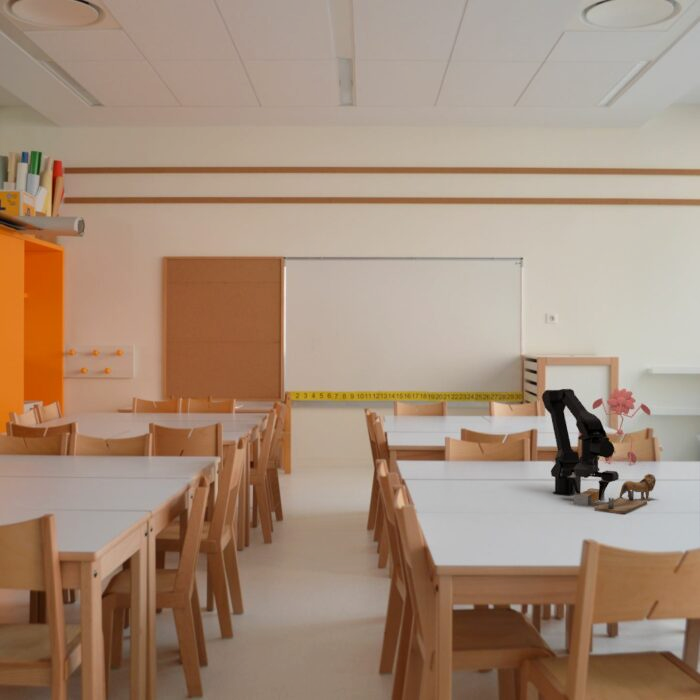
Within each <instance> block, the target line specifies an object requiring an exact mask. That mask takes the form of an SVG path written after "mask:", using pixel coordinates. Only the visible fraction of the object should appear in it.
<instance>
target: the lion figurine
mask: <svg viewBox="0 0 700 700" xmlns="http://www.w3.org/2000/svg"><path fill="white" fill-rule="evenodd" d="M656 481H657V478H656V476H655V475H654V474H652V473H647V474H645V475H644V476H643V478H642V479H641V480H640V481H632V480H627V481H625V482H623V483H622V486H621V488H620V492H619V497H618V498H624V497H623V495H624V494H626V493H627V499H629V490H634V492H635V493H640V499H641V500H645V501H647V502H649V501H650V500H651V499H650V498H649V496H650V492H652V491H653V490H654V488H655V486H656ZM644 494H645V497H644Z"/></svg>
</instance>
